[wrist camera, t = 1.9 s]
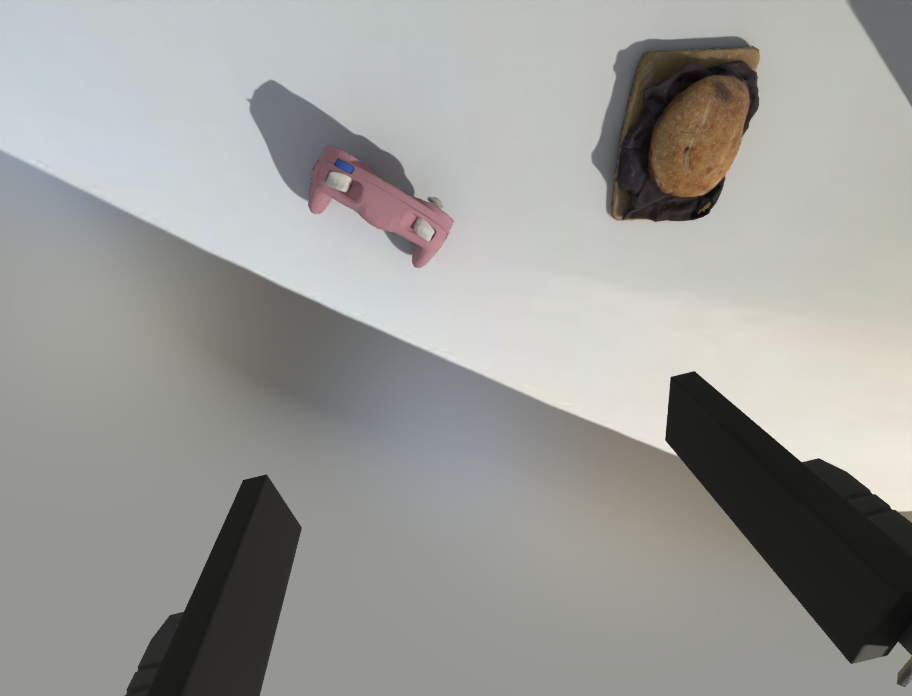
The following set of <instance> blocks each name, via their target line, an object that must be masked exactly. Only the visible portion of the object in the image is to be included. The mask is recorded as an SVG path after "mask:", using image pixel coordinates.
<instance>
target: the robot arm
mask: <svg viewBox="0 0 912 696" xmlns="http://www.w3.org/2000/svg"><path fill="white" fill-rule="evenodd" d="M665 440H666V442H667V443H668V444H669V445H670V446H671V448H672V449H673V450H674V451H675V452H676V454H677V455H678V456H679V457H680V458H681V460H682V461H683V462H684V463H685V464H686V466H687V467H688V468H689V469H690V470H691V472H692V473H693V474H694V475H695V476H696V478H697V479H698V480H699V481H700V482H701V484H702V485H703V486H704V487H705V489H706V490H707V491H708V492H709V493H710V495H711V496H712V497H713V498H714V499H715V501H716V502H717V503H718V504H719V505H720V507H721V508H722V509H723V510H724V511H725V513H726V514H727V515H728V516H729V517H730V519H731V520H732V521H733V522H734V523H735V525H736V526H737V527H738V528H739V529H740V531H741V532H742V533H743V534H744V536H745V537H746V538H747V539H748V540H749V542H750V543H751V544H752V545H753V546H754V548H755V549H756V550H757V551H758V552H759V554H760V555H761V556H762V557H763V559H764V560H765V561H766V562H767V563H768V565H769V566H770V567H771V568H772V569H773V571H774V572H775V573H776V574H777V575H778V577H779V578H780V579H781V580H782V581H783V583H784V584H785V585H786V586H787V587H788V589H789V590H790V591H791V592H792V594H793V595H794V596H795V597H796V598H797V599H798V601H799V602H800V603H801V604H802V606H803V607H804V608H805V609H806V610H807V612H808V613H809V614H810V615H811V616H812V618H813V619H814V620H815V621H816V622H817V623H818V625H819V626H820V627H821V628H822V630H823V631H824V632H825V633H826V635H827V636H828V637H829V638H830V639H831V641H832V642H833V643H834V644H835V645H836V647H837V648H838V649H839V650H840V651H841V652H842V654H843V655H844V656H845V657H846V659H847V660H848V661H849V662H850V663H851V664H853V663H857V662H861V661H865V660H870V659H874V658H878V657H882V656H887V655H888V654H889V652H890V651H891V650H892V649H893V647H894V646H895V645H896V643H897V642H899V643H901V644H902V646H903V647H904V648H905V649H906V650H907V651H908V652H909V653H910V654H911V655H912V523H911V522H910V521H909V520H907V519H906V518H905V517H903V516H902V515H901V514H900V513H898V512H897V511H896V510H892V509H891V508H890V506H889V505H888V504H887V503H886V502H884V501H883V500H882V499H881V498H879V497H878V496H877V495H875V494H874V495H873V494H872V493H871V492H870V490H869V489H868V488H867V487H865V486H864V485H863V484H861V483H860V482H859V481H858V480H856V479H855V478H854V477H853V476H851V475H850V474H849V473H847V472H846V471H844V470H842V469H840V468H838V467H836V466H833V465H831V464H829V463H827V462H825V461H823V460H821V459H819V458H818V459H814V460H810V461H806V462H801V461H799V460H798V459H797V458H796V457H795V456H794V455H792V454H791V453H790V452H789V451H788V450H787V449H785V448H784V447H783V446H782V445H781V444H779V443H778V442H777V441H776V440H775V439H774V438H772V437H771V436H770V435H769V434H768V433H767V432H765V431H764V430H763V429H762V428H761V427H759V426H758V425H757V424H756V423H755V422H754V421H752V420H751V419H750V418H749V417H748V416H746V415H745V414H744V413H743V412H742V411H741V410H739V409H738V408H737V407H736V406H735V405H734V404H732V403H731V402H730V401H729V400H728V399H726V398H725V397H724V396H723V395H722V394H721V393H719V392H718V391H717V390H716V389H715V388H714V387H712V386H711V385H710V384H709V383H708V382H706V381H705V380H704V379H703V378H702V377H701V376H699V375H698V374H697V373H696V372H695V371H694V372H690V373H685V374H681V375H677V376H673V377H671V381H670V392H669V404H668V415H667V427H666V438H665ZM301 528H302V527H301V526H300V524H299V523H298V521H297V520H296V518H295V517H294V515H293V514H292V512H291V511H290V509H289V508H288V506H287V504H286V503H285V501H284V500H283V498H282V497H281V496H280V494H279V492H278V491H277V489H276V488H275V486H274V485H273V483H272V482H271V480H270V479H269V477H268V476H267V475H263V476H259V477H254V478H250V479H246V480H243V482H242V484H241V486H240V489H239V491H238V493H237V495H236V497H235V500H234V502H233V504H232V506H231V509H230V511H229V513H228V515H227V517H226V520H225V522H224V524H223V527H222V529H221V531H220V533H219V535H218V538H217V540H216V542H215V544H214V546H213V549H212V551H211V553H210V555H209V558H208V560H207V562H206V564H205V567H204V569H203V571H202V573H201V576H200V578H199V580H198V582H197V584H196V587H195V589H194V591H193V594H192V596H191V598H190V600H189V602H188V604H187V607H186V609H185V611H184V612H181V613H178V614H173V615H170V616H169V618H168V619H167V620H166V621H165V623H164V624H163V625H162V626H161V628H160V629H159V630H158V632H157V633H156V634H155V636H154V637H153V638H152V640H151V641H150V643H149V645H148V647H147V649H146V651H145V653H144V655H143V657H142V660H141V662H140V664H139V666H138V671H137V672H136V673H135V674H134V676H133V678H132V680H131V682H130V684H129V686H128V688H127V694H126V695H125V696H260V692H261V688H262V684H263V680H264V676H265V672H266V668H267V664H268V660H269V656H270V652H271V648H272V644H273V640H274V636H275V632H276V628H277V624H278V620H279V616H280V612H281V608H282V604H283V600H284V596H285V592H286V588H287V584H288V580H289V576H290V572H291V568H292V564H293V561H294V556H295V553H296V548H297V544H298V540H299V537H300V533H301ZM911 680H912V657H911V658H910V660H909V661H908V662H907V663H906V664H905V665H904V667H903V668H902V669H901V670H900V671H899V672H898V679H897V684H899V685H901V686H903V687H905V686H906V685H907V684H908V683H909V682H910V681H911Z"/></svg>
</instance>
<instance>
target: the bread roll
mask: <svg viewBox="0 0 912 696" xmlns="http://www.w3.org/2000/svg"><path fill="white" fill-rule="evenodd" d="M759 60H760V54H759V50H758V49H757V48H755V47H754V46H752V47H749V46H747V47H744V48H743V47H741V48H726V49H725V48H722V49H716V48H710V49H704V50H689V51H688V50H681V51H663V52H652V53H650V52H648V53H645V55H644V54H643V57H642V60H641V62H640V64H639V67H638V68H639V69H638V71H637V72H636V73H637V74H636V76H635V82H634V84H633V89H632V93H631V94H630V96H631V98H630V100H629V104H628V110H626V112H627V114H626V118H625V120H626V121H624V122H623V123H624V124H623V128H622V131H623V134H622V137H621V140H620V149H619V153H618V163H617V172H616V173H615V174H614V178H615V187H614V194H613V202H612V217H613V218H614V219H616V220H634V219H650V220H653V221H655V222H657V221H665V220H669V221H687V220H694V219H698V218H701V217H704V216H705V215H707V214H709V213H710V210H711V209H712V208H713V206H714V205H715V204H716V202H717V200H718V198H719V196H720V194H721V191H722V188H723V185H724V181H725V174H726V173H727V171H728V170H729V168H730V167H731V165H732V163H733V161H734V159H735V157H736V155H737V152H738V150H739V147H740V144H741V138H742V136H743V135H744V133H745V132H746V130H747V129H748V127H749V122H750V120H751V118H752V117H753V115H754V114H755V113H756V111H757V109H758V106H759V97H758V87H757V78H758V77H757V73H756V72H755V71H756V68H757V65H758V63H759Z"/></svg>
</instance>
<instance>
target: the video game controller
mask: <svg viewBox="0 0 912 696" xmlns="http://www.w3.org/2000/svg"><path fill="white" fill-rule="evenodd" d="M331 198H333V199H335V200H336V201H338V202H340V203H341V204H343V205H345V206H347V207H349V208H351V209H353V210H355V211H356V212H357V213H358V214H359V215H360V216H361V217H362V218H363V219H364V220H366V221H367V222H368V223H369V224H371V225H373V226H374V227H376V228H379V229H382V230H385V231H389V232H394V233H396V234H398V235H400V236H402V237H404V238H405V239H407V240H409V241H411V242H413V243H415V244H417V246H416V248H415V250H414V253H413V256H412V263H413V265H414V267H416V268H420V267H422V266H424V265H425V264H427V263H428V261H429V260H430V259H431V258H432V257H433V256H434V255H435V254H436V253H437V251H438V250H439V249H440V248H441V246H442V245H443V243H444V241H445V240H446V238H447V236H448V234H449V232H450V229H451V227H452V225H453V223H454V221H453V219H452V218H451V217H450V216H449V215H447V214H446V213H445V212H444V211H442V210H441V209H440V208H439V207H441V208H443V207H444V205H443V204H442V202H441V201H440V200H439V199H437V198H435V197H428V200H429V201H430V202H426V201H423V200H421V199H418V198H416V197H411V196H409V195H408V194H406V193H404V192H403V191H401V190H399V189H398V188H396V187H394V186H393V185H391V184H389V183H387V182H386V181H384V180H382V179H380V178H379V177H377V176H375V174H374V173H373V172H372V171H371V170H370V169H369V168H368V167H367V166H366V165H364V164H363V163H362V162H360V161H359V160H357V159H356V158H354V157H353V156H351V155H350V154H348V153H346V152H344V151H342V150H340V149H338V148H335V147H332V146H326V147H325V149H324V151H323V153H322V154H321V156H320V158H319V160H318V161H317V163H316V164H315V166H314V169H313V173H312V178H311V185H310V191H309V199H308V206H309V208H310V211H311V212H312V213H313V214H319V213H321V212H323V211H324V210H325V209H326V207H327V205H328V203H329V202H330V200H331Z"/></svg>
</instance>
